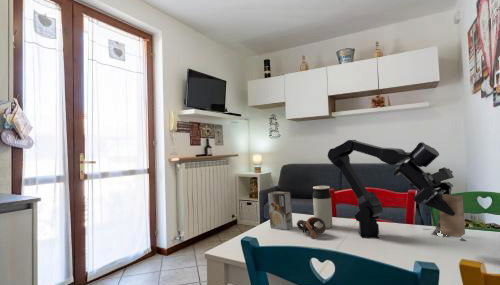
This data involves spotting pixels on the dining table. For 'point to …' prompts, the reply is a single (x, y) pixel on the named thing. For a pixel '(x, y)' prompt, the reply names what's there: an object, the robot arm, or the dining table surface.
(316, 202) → the travel mug
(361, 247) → the dining table surface
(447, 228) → the walnut block
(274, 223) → the coffee box
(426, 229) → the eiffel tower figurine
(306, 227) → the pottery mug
